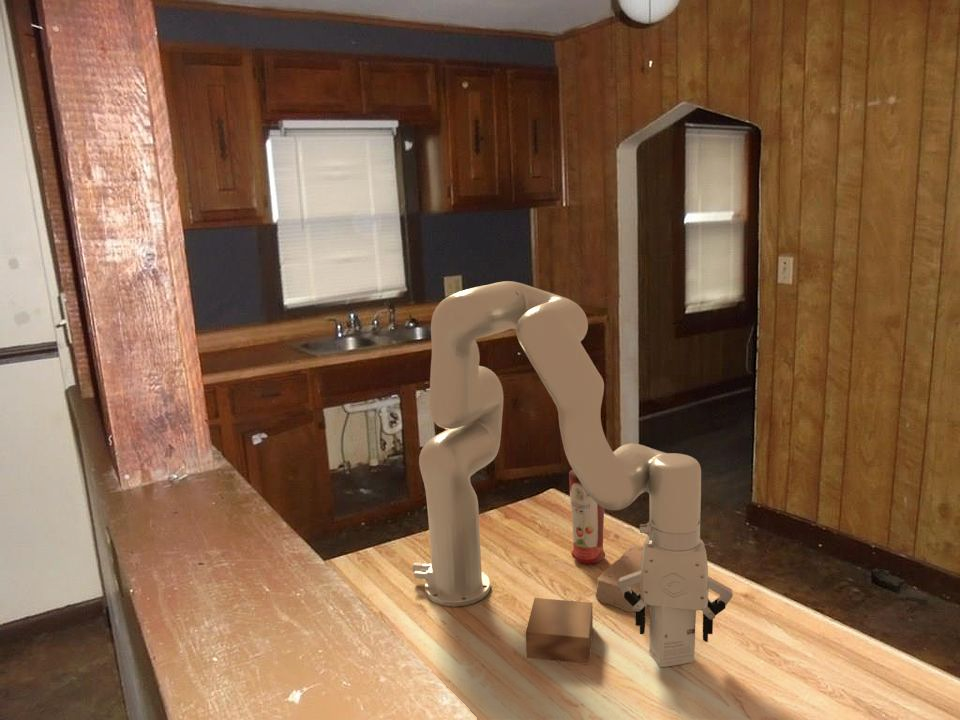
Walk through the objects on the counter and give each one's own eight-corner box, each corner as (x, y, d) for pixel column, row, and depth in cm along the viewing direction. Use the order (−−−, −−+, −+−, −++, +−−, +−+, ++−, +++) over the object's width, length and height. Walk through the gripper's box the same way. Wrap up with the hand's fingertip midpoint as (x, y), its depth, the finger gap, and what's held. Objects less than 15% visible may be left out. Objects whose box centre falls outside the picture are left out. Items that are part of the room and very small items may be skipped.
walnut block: (526, 659, 114) (525, 632, 112) (535, 623, 123) (534, 597, 122) (588, 665, 111) (588, 637, 110) (592, 628, 121) (592, 602, 120)
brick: (635, 615, 124) (635, 591, 123) (593, 600, 129) (593, 577, 128) (672, 574, 137) (672, 552, 136) (632, 562, 142) (633, 541, 141)
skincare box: (660, 669, 109) (661, 599, 107) (647, 651, 114) (648, 584, 111) (696, 661, 111) (698, 593, 108) (682, 645, 115) (683, 578, 112)
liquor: (613, 558, 143) (612, 428, 137) (593, 572, 138) (592, 438, 132) (583, 547, 148) (581, 421, 142) (563, 561, 143) (560, 431, 136)
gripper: (615, 540, 106) (616, 640, 110) (735, 550, 101) (732, 654, 105) (619, 519, 113) (620, 613, 117) (732, 527, 108) (729, 625, 112)
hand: (673, 632), depth 111 cm, fingers open, 9 cm apart
